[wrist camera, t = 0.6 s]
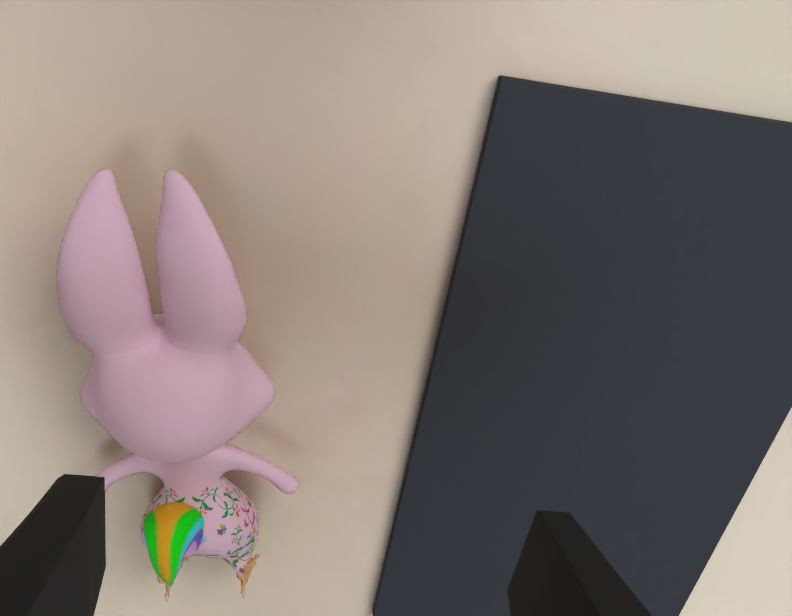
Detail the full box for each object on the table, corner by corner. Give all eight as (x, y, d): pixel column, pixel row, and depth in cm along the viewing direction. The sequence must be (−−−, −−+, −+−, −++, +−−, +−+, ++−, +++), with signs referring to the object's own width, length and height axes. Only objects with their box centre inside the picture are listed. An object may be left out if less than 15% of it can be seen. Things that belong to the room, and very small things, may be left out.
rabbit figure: (303, 513, 27) (288, 135, 18) (300, 681, 23) (276, 294, 13) (126, 519, 27) (10, 131, 17) (85, 692, 22) (-103, 295, 13)
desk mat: (667, 624, 30) (671, 630, 30) (372, 611, 28) (372, 617, 28) (924, 143, 20) (932, 147, 20) (498, 75, 19) (501, 78, 18)
